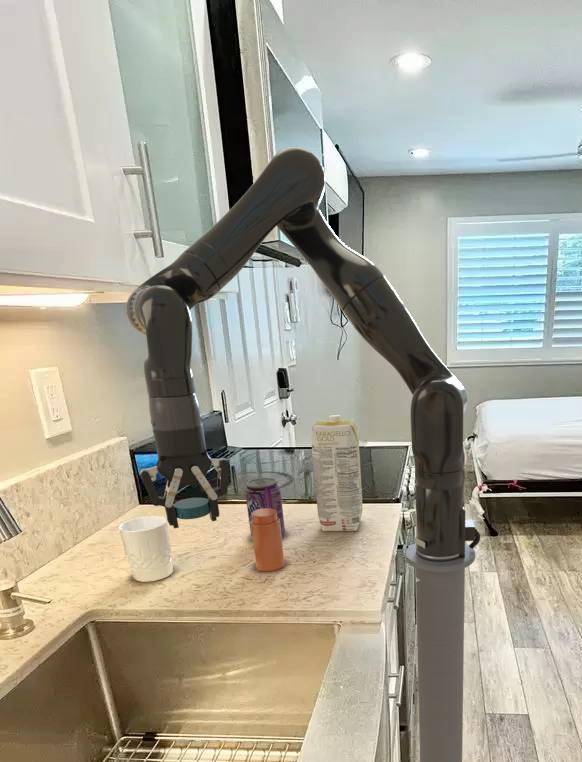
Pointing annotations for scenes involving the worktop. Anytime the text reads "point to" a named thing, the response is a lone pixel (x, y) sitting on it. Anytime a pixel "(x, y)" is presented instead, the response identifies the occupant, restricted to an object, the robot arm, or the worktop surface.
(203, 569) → the worktop surface
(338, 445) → the juice carton
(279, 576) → the worktop surface
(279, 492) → the beverage can
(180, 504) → the jar lid
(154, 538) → the white cup
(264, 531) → the jam jar
